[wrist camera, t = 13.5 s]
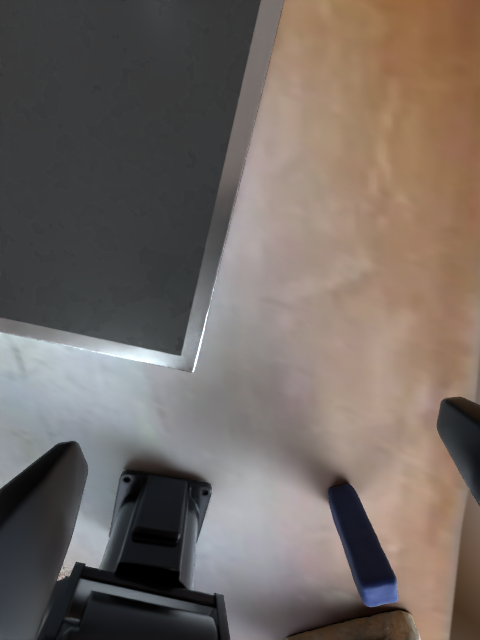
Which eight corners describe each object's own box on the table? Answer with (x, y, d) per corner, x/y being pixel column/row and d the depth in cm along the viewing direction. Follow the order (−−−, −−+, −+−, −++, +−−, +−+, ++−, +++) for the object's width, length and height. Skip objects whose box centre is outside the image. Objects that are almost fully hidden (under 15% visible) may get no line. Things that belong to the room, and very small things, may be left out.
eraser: (356, 503, 25) (402, 605, 18) (327, 508, 25) (363, 611, 18) (354, 481, 24) (401, 579, 18) (324, 486, 24) (361, 586, 18)
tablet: (194, 367, 21) (193, 374, 20) (-117, 301, 18) (-134, 305, 18) (317, -138, 13) (323, -162, 13) (-169, -348, 11) (-201, -393, 10)
